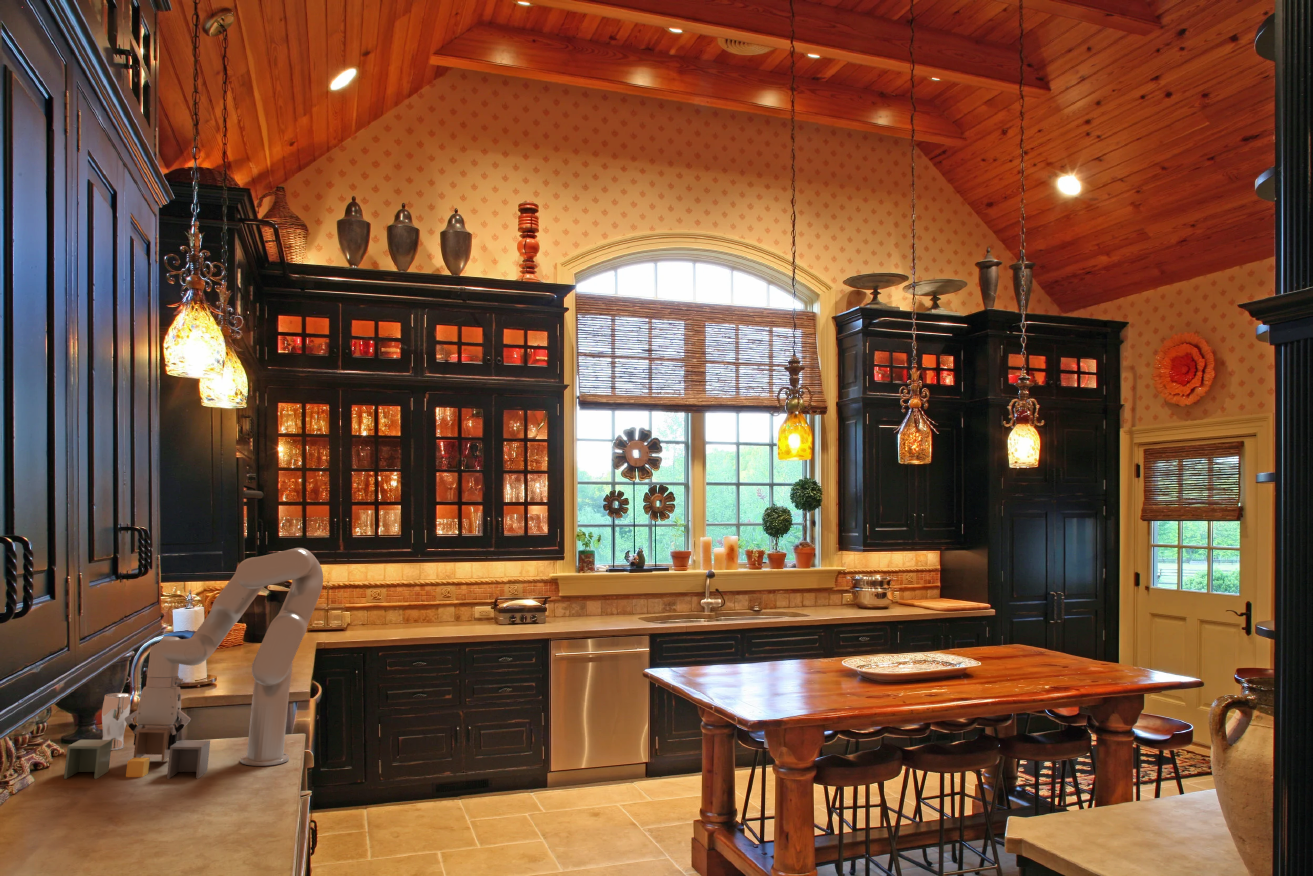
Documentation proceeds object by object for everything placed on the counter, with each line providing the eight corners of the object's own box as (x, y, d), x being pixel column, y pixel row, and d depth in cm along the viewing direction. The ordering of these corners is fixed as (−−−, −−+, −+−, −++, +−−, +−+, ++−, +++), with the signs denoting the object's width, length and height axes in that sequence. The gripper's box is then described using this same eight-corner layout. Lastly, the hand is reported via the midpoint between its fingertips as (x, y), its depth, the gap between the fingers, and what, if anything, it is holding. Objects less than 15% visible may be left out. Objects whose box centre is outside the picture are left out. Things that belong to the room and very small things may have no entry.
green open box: (76, 771, 238) (80, 739, 239) (108, 771, 239) (112, 739, 240) (63, 778, 230) (67, 746, 231) (96, 778, 232) (100, 746, 232)
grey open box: (176, 771, 242) (179, 740, 243) (207, 771, 243) (210, 740, 244) (166, 778, 235) (170, 746, 235) (198, 778, 236) (201, 746, 237)
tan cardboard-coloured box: (143, 754, 252) (146, 724, 253) (173, 754, 253) (176, 724, 254) (133, 760, 244) (136, 730, 245) (163, 761, 246) (167, 730, 247)
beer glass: (120, 744, 268) (125, 692, 270) (129, 748, 263) (135, 695, 265) (93, 747, 263) (100, 694, 264) (103, 752, 258) (109, 697, 260)
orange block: (131, 773, 238) (133, 757, 239) (148, 773, 239) (149, 757, 240) (125, 777, 234) (127, 761, 235) (142, 777, 235) (144, 761, 236)
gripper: (199, 681, 256) (192, 745, 254) (132, 679, 253) (125, 745, 251) (191, 685, 249) (184, 752, 247) (122, 684, 246) (114, 751, 244)
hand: (154, 748), depth 249 cm, fingers closed on tan cardboard-coloured box, 7 cm apart
